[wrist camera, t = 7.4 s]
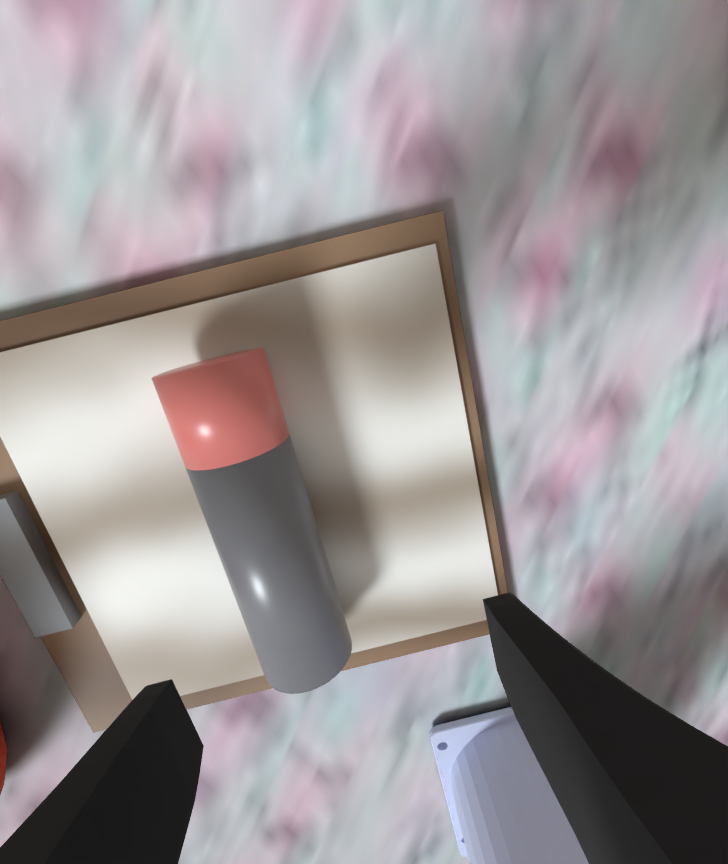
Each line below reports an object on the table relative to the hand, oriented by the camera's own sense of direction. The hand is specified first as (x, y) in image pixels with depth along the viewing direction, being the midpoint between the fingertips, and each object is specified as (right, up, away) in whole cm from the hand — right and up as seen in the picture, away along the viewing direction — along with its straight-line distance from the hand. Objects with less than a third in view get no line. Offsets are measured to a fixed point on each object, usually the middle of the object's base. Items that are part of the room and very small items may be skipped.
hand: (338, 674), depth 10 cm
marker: (-4, +2, +8) cm, 9 cm away
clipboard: (-4, +2, +9) cm, 10 cm away
